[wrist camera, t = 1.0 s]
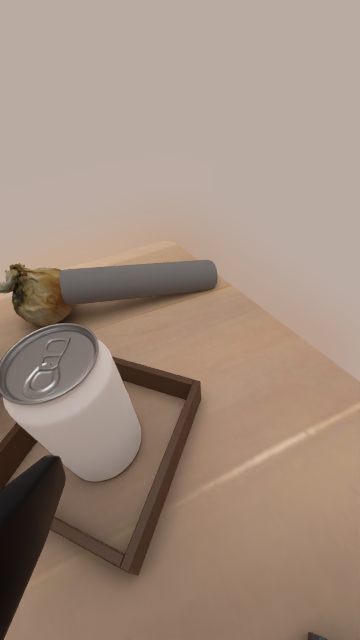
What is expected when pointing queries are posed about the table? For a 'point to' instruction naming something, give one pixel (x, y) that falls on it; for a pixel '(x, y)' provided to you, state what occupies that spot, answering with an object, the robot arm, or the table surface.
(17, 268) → the onion
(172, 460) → the square frame
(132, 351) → the table surface
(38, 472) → the robot arm
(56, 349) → the can
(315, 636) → the tray
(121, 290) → the tv remote
